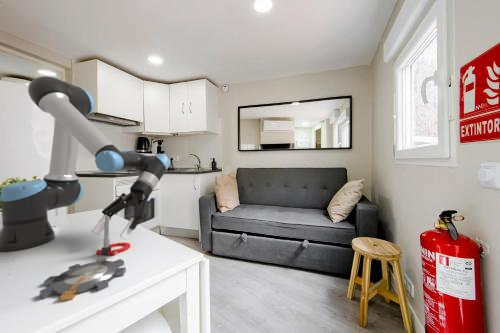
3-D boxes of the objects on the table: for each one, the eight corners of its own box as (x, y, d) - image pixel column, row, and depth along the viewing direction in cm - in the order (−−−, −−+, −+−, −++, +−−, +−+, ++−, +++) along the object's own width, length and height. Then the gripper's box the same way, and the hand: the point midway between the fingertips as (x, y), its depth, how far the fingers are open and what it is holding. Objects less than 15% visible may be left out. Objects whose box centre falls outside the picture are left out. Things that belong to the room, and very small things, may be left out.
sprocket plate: (29, 285, 52) (29, 280, 52) (107, 256, 67) (107, 253, 67) (55, 311, 43) (55, 305, 43) (138, 271, 58) (138, 267, 58)
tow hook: (115, 244, 78) (93, 255, 68) (115, 210, 78) (93, 215, 69) (135, 246, 76) (115, 256, 67) (135, 211, 76) (116, 216, 67)
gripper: (173, 192, 82) (143, 245, 68) (128, 190, 91) (93, 235, 77) (163, 180, 76) (127, 234, 63) (116, 179, 86) (76, 226, 72)
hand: (108, 235), depth 70 cm, fingers open, 13 cm apart
